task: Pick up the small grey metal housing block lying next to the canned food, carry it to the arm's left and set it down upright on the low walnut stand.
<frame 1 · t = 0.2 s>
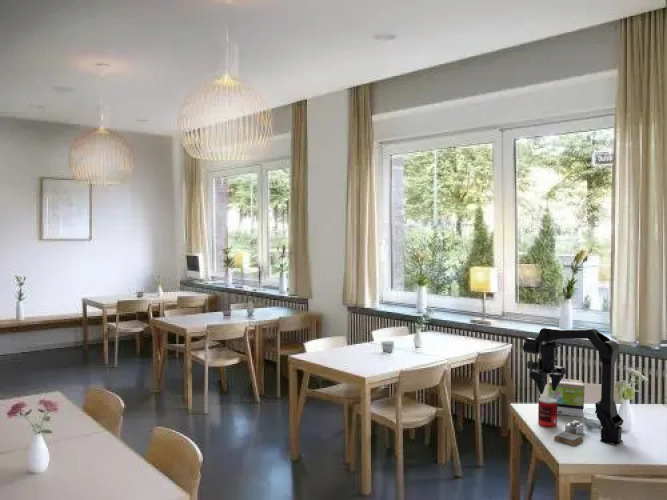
hand: (547, 392, 247), 14 cm above the table, fingers open, 9 cm apart
stand: (568, 440, 228), on the table
housing: (574, 433, 237), on the table
tea box: (564, 412, 264), on the table
canned food: (547, 425, 247), on the table
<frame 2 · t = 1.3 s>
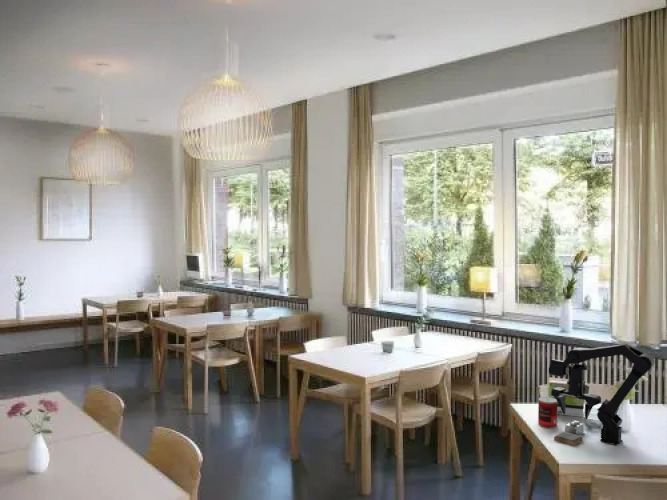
hand: (575, 416, 236), 7 cm above the table, fingers open, 9 cm apart
nothing on the table moved.
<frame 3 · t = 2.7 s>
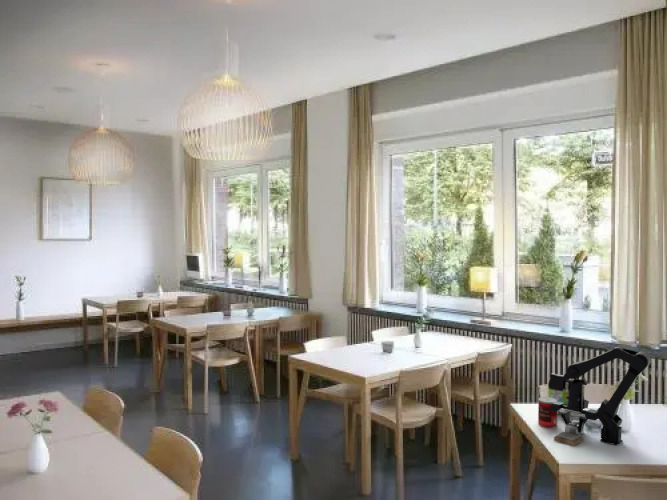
hand: (574, 431, 237), 1 cm above the table, fingers closed on housing, 5 cm apart
housing: (574, 433, 237), on the table, touching gripper
everything else where it was.
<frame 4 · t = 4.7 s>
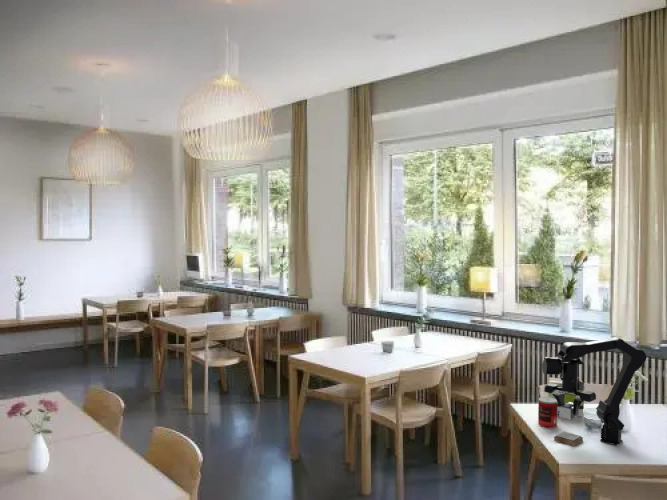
hand: (569, 413, 228), 11 cm above the table, fingers closed on housing, 4 cm apart
housing: (569, 416, 228), point 10 cm above the table, touching gripper
everything else where it was.
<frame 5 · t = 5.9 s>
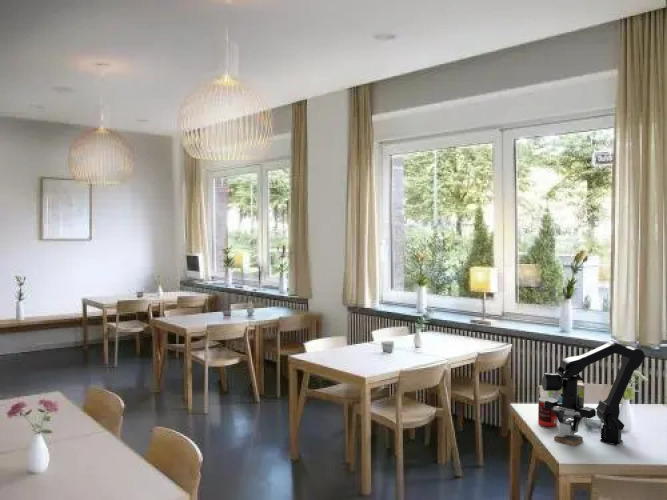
hand: (568, 429, 228), 5 cm above the table, fingers closed on housing, 4 cm apart
housing: (568, 432, 228), point 3 cm above the table, touching gripper
everything else where it was.
when the fingers open (4 cm above the table, at t = 6.6 s): housing drops 1 cm, resting on stand.
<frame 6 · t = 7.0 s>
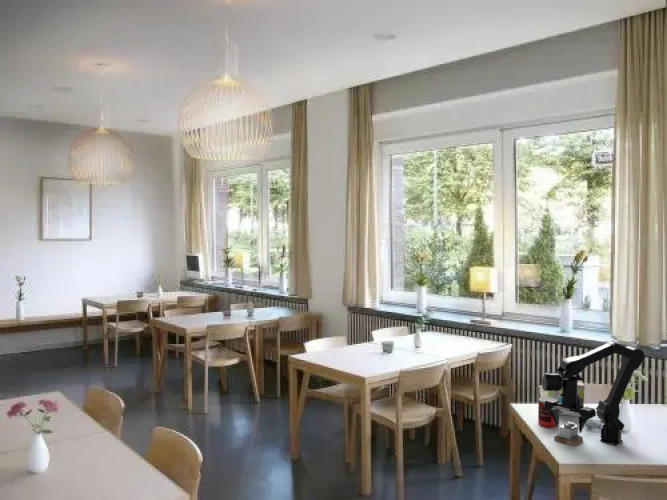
hand: (568, 429, 228), 4 cm above the table, fingers open, 9 cm apart
housing: (568, 435, 228), point 2 cm above the table, touching stand
everything else where it was.
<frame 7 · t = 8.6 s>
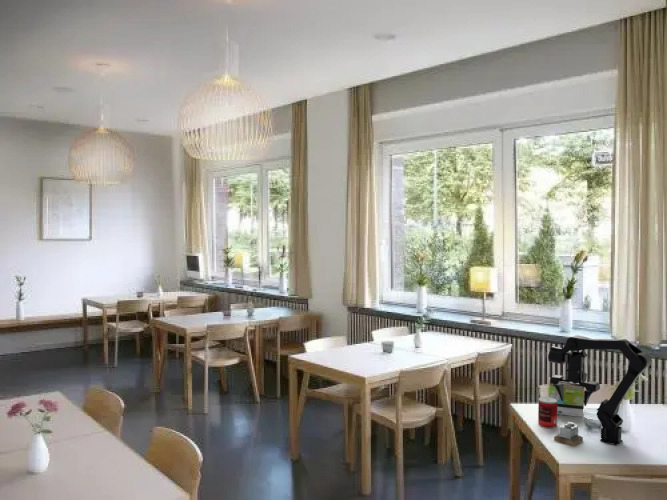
hand: (573, 403, 238), 12 cm above the table, fingers open, 9 cm apart
nothing on the table moved.
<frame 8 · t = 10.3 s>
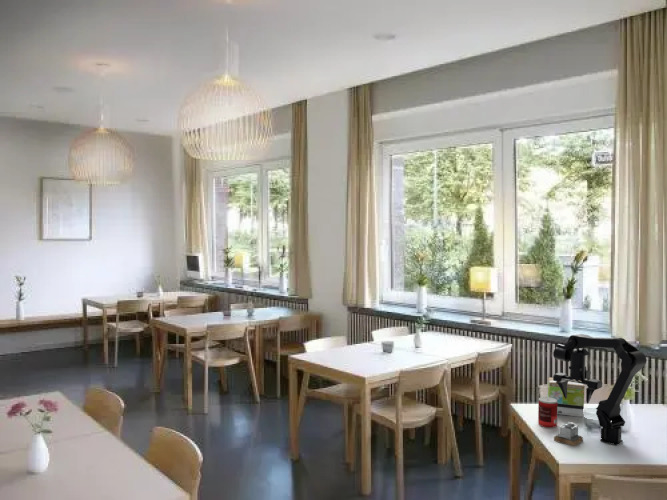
hand: (576, 400, 242), 12 cm above the table, fingers open, 9 cm apart
nothing on the table moved.
at the end: housing inside the target area on the stand (0.1 cm from its centre), point 2.0 cm above the stand's base; housing tilted 0°; the gripper is holding nothing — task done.
